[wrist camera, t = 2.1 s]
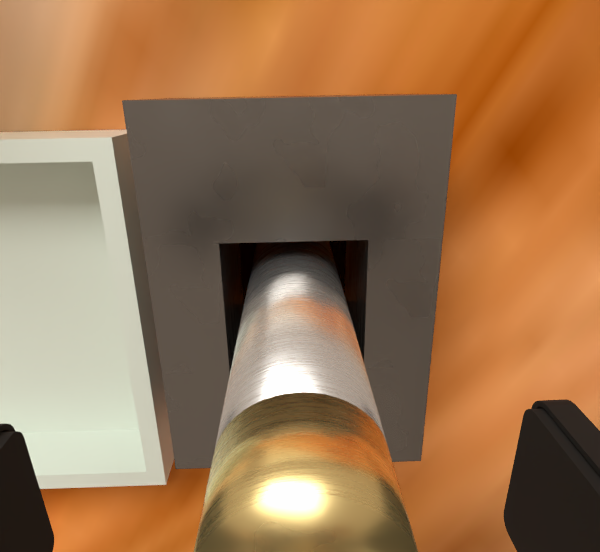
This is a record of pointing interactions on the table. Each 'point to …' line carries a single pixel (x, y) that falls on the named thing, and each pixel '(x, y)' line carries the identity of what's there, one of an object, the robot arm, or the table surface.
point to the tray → (78, 313)
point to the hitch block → (291, 235)
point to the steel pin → (300, 423)
